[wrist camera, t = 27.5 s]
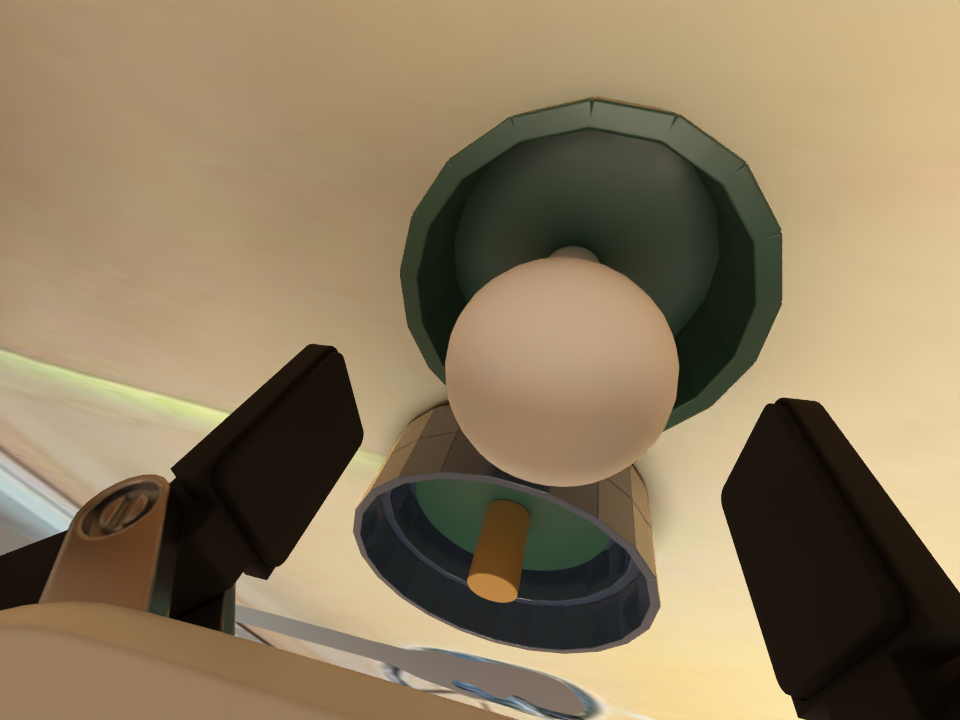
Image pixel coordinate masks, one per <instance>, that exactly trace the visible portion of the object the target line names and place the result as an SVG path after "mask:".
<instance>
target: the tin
mask: <svg viewBox="0 0 960 720" xmlns="http://www.w3.org/2000/svg"><path fill="white" fill-rule="evenodd" d="M780 231H781V228H780V226H779V224H778V222H777V220H776V218H775V216H774V214H773V212H772V210H771V208H770V206H769V204H768V202H767V201H766V199H765V197H764V195H763V193H762V191H761V189H760V187H759V185H758V183H757V181H756V179H755V177H754V175H753V173H752V171H751V170H750V168H749V166H748V165H747V164H746V162H745V161H744V160H743V159H742V158H740V157H739V156H737V155H736V154H735V153H733V152H732V151H730V150H729V149H728V148H726V147H725V146H723V145H722V144H721V143H719V142H718V141H716V140H715V139H714V138H712V137H711V136H709V135H708V134H707V133H705V132H704V131H702V130H701V129H700V128H698V127H697V126H695V125H694V124H693V123H691V122H690V121H688V120H687V119H686V118H684V117H683V116H681V115H679V114H676V113H674V112H670V111H667V110H663V109H659V108H655V107H650V106H644V105H639V104H633V103H628V102H622V101H617V100H612V99H606V98H601V97H595V98H594V97H590V98H586V99H582V100H577V101H573V102H568V103H564V104H560V105H555V106H551V107H546V108H542V109H537V110H533V111H529V112H525V113H521V114H517V115H514V116H512V117H509V118H507V119H506V120H504V121H503V122H501V123H500V124H498V125H497V126H496V127H494V128H493V129H491V130H490V131H488V132H487V133H486V134H484V135H483V136H481V137H480V138H478V139H477V140H476V141H474V142H473V143H471V144H470V145H468V146H467V147H466V148H464V149H463V150H461V151H460V152H458V153H457V154H456V155H454V156H453V157H451V158H450V159H449V161H448V162H446V164H445V165H444V167H443V169H442V170H441V172H440V173H439V175H438V176H437V178H436V179H435V181H434V182H433V184H432V185H431V187H430V188H429V190H428V191H427V193H426V194H425V196H424V197H423V199H422V201H421V202H420V204H419V205H418V207H417V208H416V210H415V211H414V213H413V216H412V217H411V221H410V226H409V231H408V236H407V240H406V245H405V250H404V254H403V259H402V264H401V269H400V272H401V273H400V278H401V285H402V292H403V298H404V305H405V312H406V319H407V324H408V328H409V330H410V332H411V334H412V336H413V338H414V340H415V341H416V343H417V345H418V347H419V349H420V351H421V353H422V355H423V357H424V359H425V361H426V363H427V365H428V367H429V369H431V371H432V372H433V373H434V374H435V375H436V376H437V377H438V378H439V379H440V380H441V381H442V382H443V383H444V384H445V385H446V373H445V361H446V355H447V350H448V345H449V340H450V336H451V333H452V331H453V328H454V326H455V324H456V322H457V319H458V317H459V316H460V314H461V313H462V311H463V309H464V308H465V307H466V305H467V304H468V303H469V301H470V300H471V299H472V297H473V296H474V295H475V294H476V292H478V291H479V290H480V289H481V288H482V287H484V286H485V285H486V284H487V283H488V282H490V281H491V280H492V279H494V278H496V277H497V276H499V275H501V274H503V273H505V272H506V271H508V270H510V269H512V268H514V267H516V266H518V265H521V264H524V263H527V262H531V261H534V260H538V259H545V258H548V257H549V256H550V255H551V254H552V253H554V252H555V251H556V250H558V249H560V248H563V247H567V246H579V247H583V248H586V249H587V250H589V251H591V252H592V253H593V254H594V255H595V256H596V257H597V258H598V260H599V262H600V264H602V265H606V266H608V267H609V268H611V269H613V270H615V271H617V272H619V273H621V274H623V275H625V276H626V277H628V278H629V279H630V280H631V281H632V282H634V283H635V284H636V285H637V286H639V287H640V288H641V289H642V290H643V291H644V292H645V293H646V294H647V295H648V296H649V297H650V298H651V299H652V300H653V302H654V303H655V304H656V305H657V307H658V308H659V309H660V311H661V312H662V313H663V314H664V316H665V319H666V321H667V323H668V325H669V328H670V330H671V332H672V334H673V338H674V341H675V344H676V349H677V355H678V361H679V375H678V385H677V395H676V400H675V403H674V406H673V408H672V411H671V414H670V416H669V419H668V421H667V424H666V426H665V428H664V430H663V431H665V430H667V429H669V428H671V427H673V426H675V425H677V424H679V423H681V422H683V421H685V420H687V419H689V418H690V417H692V416H694V415H696V414H698V413H700V412H702V411H704V410H706V409H708V408H710V406H712V405H713V404H714V403H715V402H716V401H717V400H718V399H719V398H720V397H721V396H722V395H723V394H724V393H725V392H726V391H727V390H728V389H729V388H730V387H731V386H732V385H733V384H734V383H735V382H736V381H737V380H738V379H739V378H740V377H741V376H742V375H743V374H744V373H745V372H746V371H747V370H748V369H749V368H750V367H751V366H752V365H753V364H754V362H756V360H757V358H758V356H759V353H760V351H761V349H762V347H763V345H764V342H765V340H766V338H767V336H768V334H769V331H770V329H771V327H772V325H773V322H774V320H775V318H776V316H777V314H778V311H779V309H780V307H781V305H782V302H781V301H782V233H781V232H780Z"/></svg>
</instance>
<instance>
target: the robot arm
mask: <svg viewBox="0 0 960 720" xmlns="http://www.w3.org/2000/svg"><path fill="white" fill-rule="evenodd" d="M363 434H364V433H363V428H362V424H361V420H360V417H359V413H358V409H357V405H356V402H355V398H354V394H353V391H352V387H351V383H350V379H349V376H348V372H347V368H346V364H345V361H344V358H343V355H342V354H341V353H338V351H337V349H336V348H335V347H333V346H326V345H317V344H309V345H308V346H306V347H305V348H304V349H303V350H302V351H301V352H300V353H298V354H297V355H296V356H295V357H294V358H293V359H292V360H291V361H290V362H288V363H287V364H286V365H285V366H284V367H283V368H282V369H281V370H280V371H278V372H277V373H276V374H275V375H274V376H273V377H272V378H271V379H270V380H268V381H267V382H266V383H265V384H264V385H263V386H262V387H261V388H260V389H258V390H257V391H256V392H255V393H254V394H253V395H252V396H251V397H250V398H248V399H247V400H246V401H245V402H244V403H243V404H242V405H241V406H240V407H238V408H237V409H236V410H235V411H234V412H233V413H232V414H231V415H230V416H228V417H227V418H226V419H225V420H224V421H223V422H222V423H221V424H220V425H218V426H217V427H216V428H215V429H214V430H213V431H212V432H211V433H210V434H208V435H207V436H206V437H205V438H204V439H203V440H202V441H201V442H200V443H198V444H197V445H196V446H195V447H194V448H193V449H192V450H191V451H190V452H188V453H187V454H186V455H185V456H184V457H183V458H182V459H181V460H180V461H178V462H177V463H176V464H175V465H174V466H173V467H172V468H171V470H172V472H173V473H174V474H175V476H176V478H175V479H174V480H173V481H172V482H171V483H170V484H169V483H168V482H167V480H166V479H165V478H164V477H161V476H158V475H141V476H136V477H132V478H129V479H126V480H124V481H121V482H119V483H116V484H114V485H112V486H111V487H109V488H107V489H105V490H103V491H102V492H100V493H99V494H98V495H96V496H95V497H94V498H92V499H91V500H90V501H88V502H87V503H86V504H85V505H84V506H83V507H82V508H81V509H80V510H79V511H78V512H77V514H76V515H75V517H74V519H73V520H72V522H71V524H70V526H69V528H68V530H66V531H64V532H61V533H59V534H56V535H53V536H51V537H48V538H46V539H43V540H40V541H38V542H35V543H33V544H30V545H27V546H25V547H22V548H20V549H17V550H14V551H12V552H9V553H7V554H5V555H2V556H0V720H518V719H514V718H511V717H508V716H504V715H501V714H497V713H494V712H491V711H487V710H484V709H481V708H477V707H474V706H471V705H467V704H464V703H461V702H457V701H454V700H451V699H447V698H444V697H440V696H437V695H434V694H430V693H427V692H424V691H420V690H417V689H414V688H410V687H407V686H403V685H400V684H397V683H393V682H390V681H387V680H383V679H380V678H377V677H373V676H370V675H366V674H363V673H360V672H356V671H353V670H350V669H346V668H343V667H339V666H336V665H333V664H329V663H326V662H322V661H319V660H315V659H312V658H309V657H305V656H302V655H298V654H295V653H291V652H288V651H285V650H281V649H278V648H274V647H271V646H268V645H264V644H261V643H257V642H254V641H250V640H247V639H244V638H240V637H237V636H235V584H236V581H237V580H238V578H239V577H240V575H241V574H242V573H243V572H244V573H245V575H249V576H253V577H257V578H261V579H265V580H267V579H268V578H269V576H270V575H271V573H272V572H273V570H274V569H275V567H278V566H280V565H282V564H283V563H284V562H285V560H286V559H287V558H288V556H289V555H290V553H291V552H292V550H293V549H294V547H295V545H296V544H297V542H298V541H299V539H300V538H301V536H302V535H303V533H304V532H305V530H306V529H307V527H308V525H309V524H310V522H311V521H312V519H313V518H314V516H315V515H316V513H317V512H318V510H319V508H320V507H321V505H322V504H323V502H324V501H325V499H326V498H327V496H328V495H329V493H330V492H331V490H332V488H333V487H334V485H335V484H336V482H337V481H338V479H339V478H340V476H341V475H342V473H343V472H344V470H345V468H346V467H347V465H348V464H349V462H350V461H351V459H352V458H353V456H354V455H355V453H356V451H357V450H358V448H359V447H360V445H361V443H362V440H363ZM721 502H722V507H723V510H724V514H725V517H726V520H727V523H728V526H729V530H730V533H731V536H732V539H733V542H734V545H735V549H736V552H737V555H738V558H739V561H740V564H741V568H742V571H743V574H744V577H745V580H746V584H747V587H748V590H749V593H750V596H751V599H752V603H753V606H754V609H755V612H756V615H757V618H758V622H759V625H760V628H761V631H762V634H763V638H764V641H765V644H766V647H767V650H768V653H769V657H770V660H771V663H772V666H773V669H774V672H775V676H776V679H777V681H778V684H779V686H780V687H781V689H782V690H783V691H784V693H785V694H788V695H791V697H792V700H793V703H794V706H795V709H796V712H797V716H798V718H801V719H805V720H960V593H959V591H958V590H957V589H956V587H955V586H954V584H953V583H952V582H951V580H950V579H949V578H948V576H947V575H946V574H945V572H944V571H943V569H942V568H941V567H940V565H939V564H938V563H937V561H936V560H935V559H934V557H933V556H932V554H931V553H930V552H929V550H928V549H927V548H926V546H925V545H924V544H923V542H922V541H921V539H920V538H919V537H918V535H917V534H916V533H915V531H914V530H913V529H912V527H911V526H910V524H909V523H908V522H907V520H906V519H905V518H904V516H903V515H902V514H901V512H900V511H899V509H898V508H897V507H896V505H895V504H894V503H893V501H892V500H891V499H890V497H889V496H888V494H887V493H886V492H885V490H884V489H883V488H882V486H881V485H880V484H879V482H878V481H877V479H876V478H875V477H874V475H873V474H872V473H871V471H870V470H869V468H868V467H867V466H866V464H865V463H864V462H863V460H862V459H861V458H860V456H859V455H858V453H857V452H856V451H855V449H854V448H853V447H852V445H851V444H850V443H849V441H848V440H847V438H846V437H845V436H844V434H843V433H842V432H841V430H840V429H839V428H838V426H837V425H836V423H835V422H834V421H833V419H832V418H831V417H830V415H829V414H828V413H827V411H826V410H825V408H824V407H823V406H822V405H821V404H820V403H818V402H816V401H809V400H800V399H791V398H780V399H778V400H777V401H776V402H775V404H768V405H766V406H765V408H764V409H763V411H762V413H761V415H760V417H759V419H758V421H757V423H756V425H755V427H754V429H753V431H752V433H751V434H750V436H749V438H748V440H747V442H746V444H745V446H744V448H743V450H742V452H741V454H740V456H739V458H738V460H737V462H736V464H735V466H734V468H733V470H732V472H731V473H730V475H729V477H728V479H727V481H726V483H725V485H724V487H723V490H722V494H721Z"/></svg>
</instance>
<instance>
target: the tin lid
mask: <svg viewBox="0 0 960 720" xmlns="http://www.w3.org/2000/svg"><path fill="white" fill-rule="evenodd" d="M416 494H417V498H418V501H419V504H420V506H421V508H422V510H423V512H424V514H425V515H426V517H427V518H428V519H429V521H430V522H431V523H432V524H433V525H434V526H435V528H436V529H437V530H438V531H439V532H441V533H442V534H443V535H444V536H445V537H446V538H448V539H449V540H451V541H452V542H453V543H455V544H456V545H458V546H460V547H461V548H463V549H464V550H466V551H468V552H470V553H472V554H474V557H473V560H472V564H471V567H470V571H469V575H468V578H467V584H468V586H469V588H470V589H471V590H472V591H473V592H474V593H476V594H477V595H479V596H481V597H482V598H485V599H487V600H490V601H494V602H501V603H506V602H511V601H514V600H515V599H516V598H517V596H518V591H519V585H520V579H521V573H522V569H526V570H538V571H548V570H560V569H566V568H571V567H575V566H578V565H581V564H583V563H585V562H587V561H590V560H591V559H593V558H594V557H596V556H597V555H598V554H599V553H600V552H601V551H603V550H604V548H605V547H606V545H607V544H608V542H609V540H610V537H609V536H608V535H607V534H605V533H604V532H603V531H602V530H600V529H599V528H598V527H597V526H595V525H594V524H593V523H592V522H590V521H588V520H586V519H584V518H582V517H580V516H578V515H576V514H574V513H572V512H570V511H568V510H566V509H564V508H562V507H560V506H558V505H556V504H554V503H552V502H550V501H548V500H546V499H544V498H541V497H538V496H534V495H531V494H527V493H524V492H520V491H517V490H514V489H510V488H507V487H503V486H500V485H496V484H493V483H484V482H474V481H464V480H454V479H436V480H428V481H419V482H416Z"/></svg>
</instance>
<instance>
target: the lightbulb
mask: <svg viewBox="0 0 960 720" xmlns="http://www.w3.org/2000/svg"><path fill="white" fill-rule="evenodd" d="M445 373H446V392H447V395H448V399H449V402H450V406H451V409H452V411H453V413H454V416H455V418H456V420H457V422H458V424H459V426H460V428H461V430H462V432H463V433H464V434H465V436H466V437H467V438H468V439H469V441H470V442H471V443H472V445H473V446H474V447H475V448H476V449H477V451H478V452H479V453H480V454H481V455H482V456H483V457H485V458H486V459H487V460H488V461H489V462H490V463H492V464H493V465H495V466H496V467H498V468H499V469H501V470H502V471H504V472H506V473H508V474H510V475H512V476H514V477H517V478H520V479H522V480H525V481H528V482H532V483H536V484H541V485H546V486H558V487H568V486H580V485H586V484H591V483H595V482H597V481H600V480H603V479H606V478H608V477H610V476H612V475H614V474H616V473H618V472H620V471H621V470H623V469H625V468H627V467H628V466H630V465H632V464H633V463H634V462H635V461H636V460H637V459H638V458H640V457H641V456H642V455H643V454H644V453H645V452H646V451H647V450H648V449H649V448H650V447H651V446H652V445H653V444H654V443H655V441H656V440H657V439H658V437H659V436H660V434H661V433H662V432H663V430H664V428H665V426H666V424H667V421H668V419H669V416H670V414H671V411H672V408H673V406H674V403H675V400H676V395H677V385H678V375H679V361H678V355H677V349H676V344H675V341H674V338H673V334H672V332H671V330H670V328H669V325H668V323H667V321H666V319H665V316H664V314H663V313H662V312H661V311H660V309H659V308H658V307H657V305H656V304H655V303H654V302H653V300H652V299H651V298H650V297H649V296H648V295H647V294H646V293H645V292H644V291H643V290H642V289H641V288H640V287H639V286H637V285H636V284H635V283H634V282H632V281H631V280H630V279H629V278H628V277H626V276H625V275H623V274H621V273H619V272H617V271H615V270H613V269H611V268H609V267H608V266H606V265H602V264H600V262H599V260H598V258H597V257H596V256H595V255H594V254H593V253H592V252H591V251H589V250H587V249H586V248H583V247H579V246H567V247H563V248H560V249H558V250H556V251H555V252H554V253H552V254H551V255H550V256H549V257H548V258H545V259H538V260H534V261H531V262H527V263H524V264H521V265H518V266H516V267H514V268H512V269H510V270H508V271H506V272H505V273H503V274H501V275H499V276H497V277H496V278H494V279H492V280H491V281H490V282H488V283H487V284H486V285H485V286H484V287H482V288H481V289H480V290H479V291H478V292H476V294H475V295H474V296H473V297H472V299H471V300H470V301H469V303H468V304H467V305H466V307H465V308H464V309H463V311H462V313H461V314H460V316H459V317H458V319H457V322H456V324H455V326H454V328H453V331H452V333H451V336H450V340H449V345H448V350H447V355H446V361H445Z"/></svg>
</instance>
